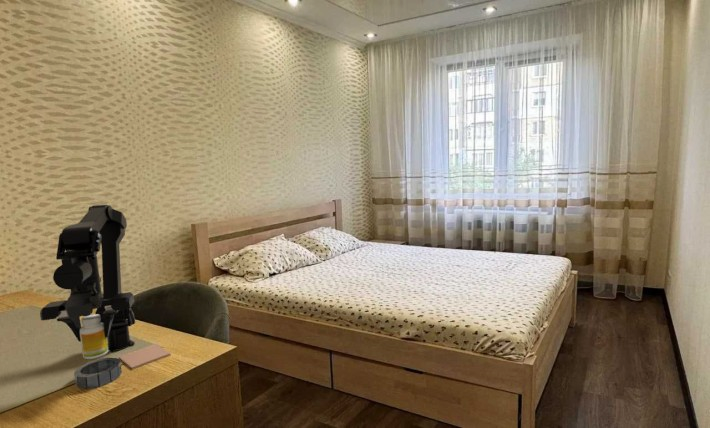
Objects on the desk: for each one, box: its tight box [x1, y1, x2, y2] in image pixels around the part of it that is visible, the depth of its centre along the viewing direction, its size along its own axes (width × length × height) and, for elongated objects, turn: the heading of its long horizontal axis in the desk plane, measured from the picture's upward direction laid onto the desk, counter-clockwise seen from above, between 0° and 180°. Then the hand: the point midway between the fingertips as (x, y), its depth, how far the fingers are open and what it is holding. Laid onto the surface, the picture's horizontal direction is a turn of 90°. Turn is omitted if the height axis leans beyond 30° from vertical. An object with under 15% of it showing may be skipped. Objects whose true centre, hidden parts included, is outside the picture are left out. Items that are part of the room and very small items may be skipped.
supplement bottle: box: [80, 313, 109, 360], centre depth 101 cm, size 5×5×10 cm
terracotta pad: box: [118, 343, 172, 370], centre depth 113 cm, size 10×10×1 cm
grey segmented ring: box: [73, 357, 123, 390], centre depth 102 cm, size 10×10×3 cm
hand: (93, 338), depth 101 cm, fingers closed on supplement bottle, 5 cm apart
